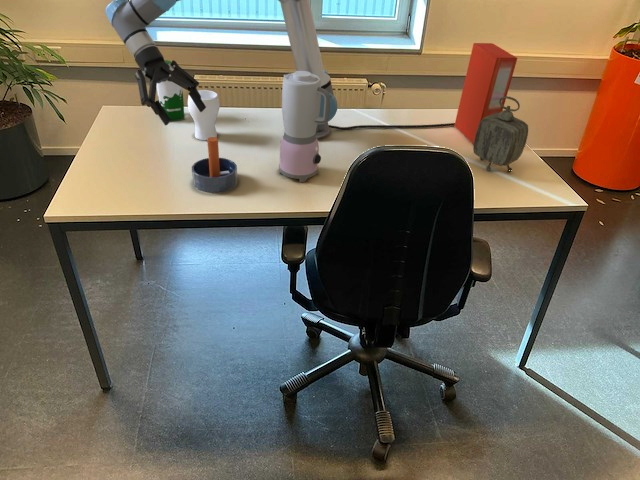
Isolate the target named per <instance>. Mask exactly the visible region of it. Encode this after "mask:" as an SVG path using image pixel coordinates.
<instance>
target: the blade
mask: <svg viewBox="0 0 640 480" xmlns="http://www.w3.org/2000/svg"><path fill="white" fill-rule="evenodd" d="M206 142H207V155H208V158H209V169H210V177H221V176H220V175H225V174H230V172H229V171H223V172H220V166H219V158H220V152H219V151H220V150H219V139H218V138H217V137H210V138H208V139H207V140H206Z"/></svg>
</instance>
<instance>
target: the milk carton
mask: <svg viewBox="0 0 640 480" xmlns="http://www.w3.org/2000/svg"><path fill="white" fill-rule="evenodd" d="M164 61H165V62H166V63H167V64H169V63H171V62H172V60H165V59H164ZM170 76H171V75H170ZM170 76H169V77H170ZM183 91H184V90H183V88H182V87H180V86H179V85H177V84H175V83H173V82H169V81H165V82H161V83H157V86H156V94H157V101H159V102H160V104H161V105H162V107H163V108H164V110H165V112H166V113H167V115H168V116H169V118H170V119H171V121H170V122H172V121H180V120H181V121H182V120H185V103H184V102H185V101H184V92H183Z"/></svg>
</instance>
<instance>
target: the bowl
mask: <svg viewBox="0 0 640 480" xmlns="http://www.w3.org/2000/svg"><path fill="white" fill-rule="evenodd" d="M219 166H220V172H223V171H229V172H230V174H225V175H220V176H221V177H210V169H209V157H204V158H201V159H199V160H197V161H195V162H194V163H193V164H192V165H191V176H192V185H193V187H194V188H195V189H197V190H198V191H201V192H204V193H207V194H220V193H224V192H225V193H226V192H228V191H231V190H232V189H234V188H235V187H236V186H237V184H238V183H239V182H238V165H237V163H236V162H235V161H233V160H231V159H229V158H226V157H219Z"/></svg>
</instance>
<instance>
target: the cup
mask: <svg viewBox="0 0 640 480" xmlns="http://www.w3.org/2000/svg"><path fill="white" fill-rule="evenodd" d="M197 91H198V92H199V94H200V95H201V100H202V101H203V103H204V104H205V106H206V108H205V109H204V110H203V111H202V112H200V111H199V109H198V108H197V106H196V105H195V103H194V102H193V100H192V98H191V97H190V95H189V94H188V96H187V97H188V98H187V109H188V111H189V114H190V116H191V118H192V119H193V122H194V125H195V128H194V137H195V138H196V139H197V140H200V141H207V139H208V138H210V137H216V138H217V137H218V132H217V128H216V119H217V117H218V115H219V112H220V105H221V104H220V100H219V96H218V93H217V92H215V91H213V90H208V89H197Z"/></svg>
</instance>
